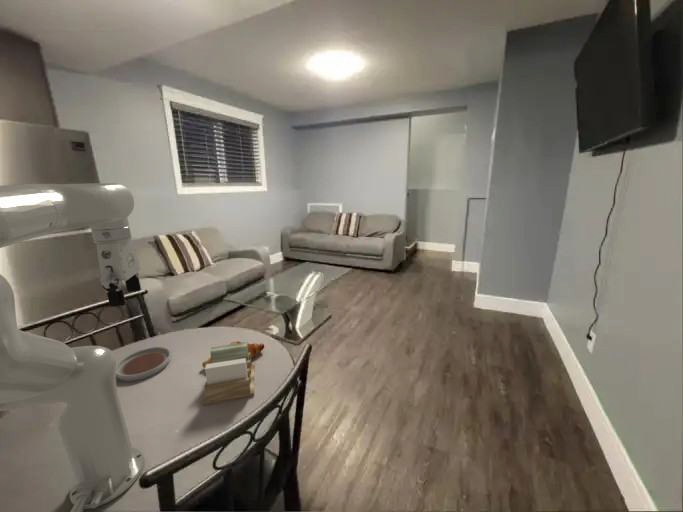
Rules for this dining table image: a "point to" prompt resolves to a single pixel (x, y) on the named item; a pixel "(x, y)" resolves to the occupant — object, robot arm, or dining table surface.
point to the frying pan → (143, 363)
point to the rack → (235, 387)
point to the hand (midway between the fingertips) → (126, 297)
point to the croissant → (252, 348)
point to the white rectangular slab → (226, 371)
